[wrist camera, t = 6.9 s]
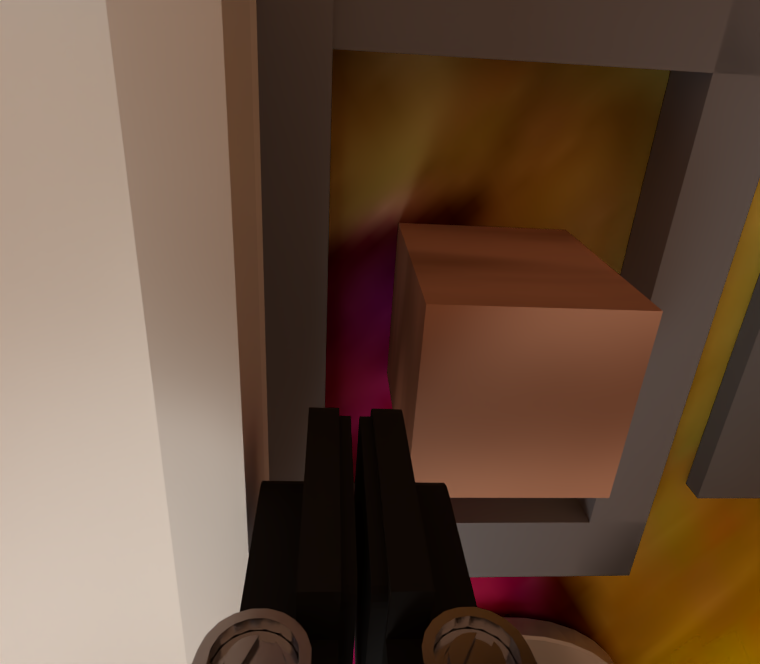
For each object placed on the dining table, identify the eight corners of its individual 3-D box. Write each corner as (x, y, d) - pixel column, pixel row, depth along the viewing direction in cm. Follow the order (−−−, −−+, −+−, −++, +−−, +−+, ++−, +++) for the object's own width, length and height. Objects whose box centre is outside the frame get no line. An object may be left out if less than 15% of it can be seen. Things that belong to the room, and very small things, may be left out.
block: (535, 374, 20) (609, 497, 15) (386, 372, 20) (406, 497, 14) (565, 229, 18) (663, 311, 13) (398, 222, 18) (426, 304, 12)
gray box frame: (606, 534, 23) (725, 753, 16) (-107, 538, 21) (-331, 792, 14) (774, -35, 15) (1164, -97, 8) (-365, -125, 13) (-1226, -323, 6)
